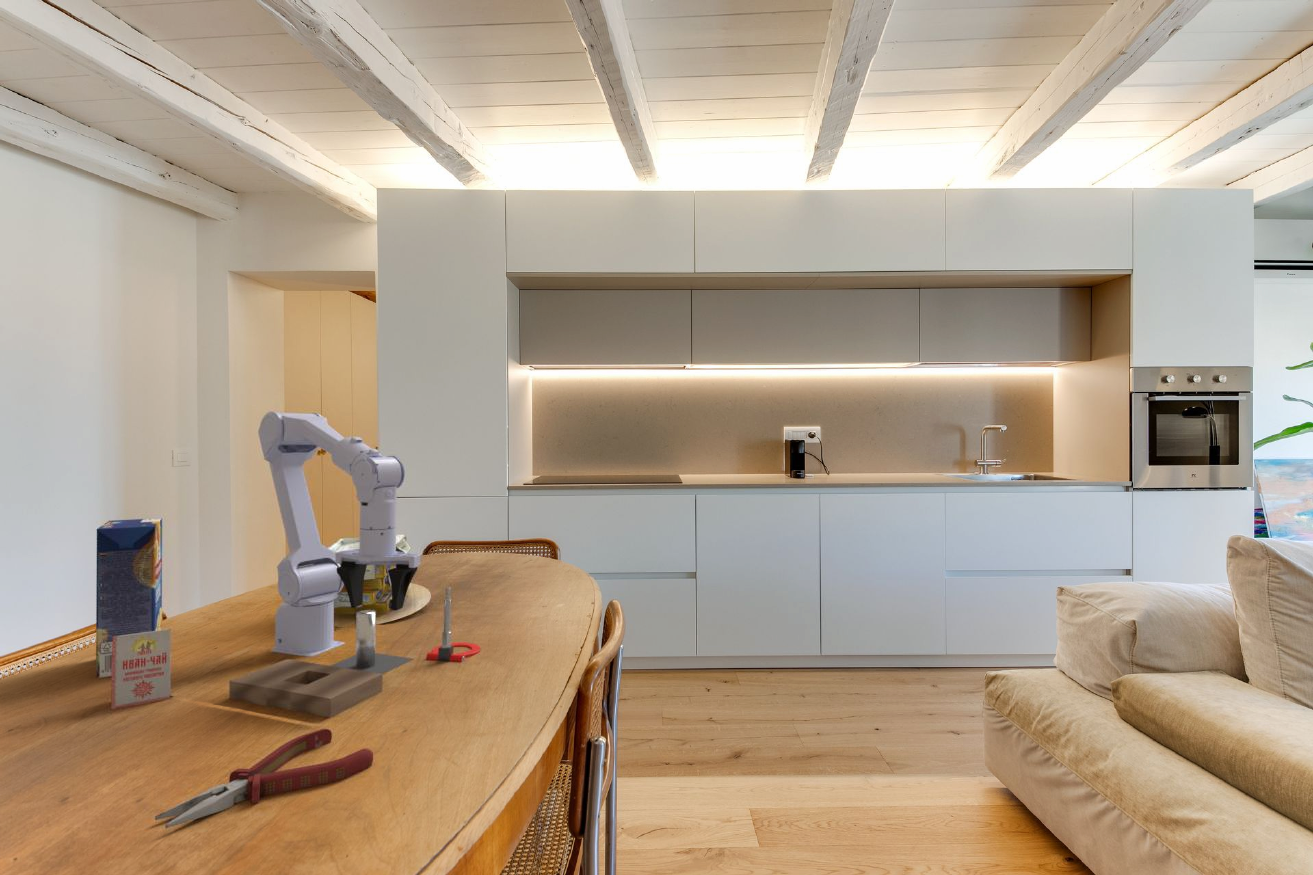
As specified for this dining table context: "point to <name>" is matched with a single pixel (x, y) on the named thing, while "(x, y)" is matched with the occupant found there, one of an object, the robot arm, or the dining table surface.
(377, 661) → the mat
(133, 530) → the juice carton
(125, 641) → the tea bag
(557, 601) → the dining table surface
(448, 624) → the tow hook
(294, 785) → the pliers
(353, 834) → the dining table surface
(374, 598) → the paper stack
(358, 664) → the peg
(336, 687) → the hole block
